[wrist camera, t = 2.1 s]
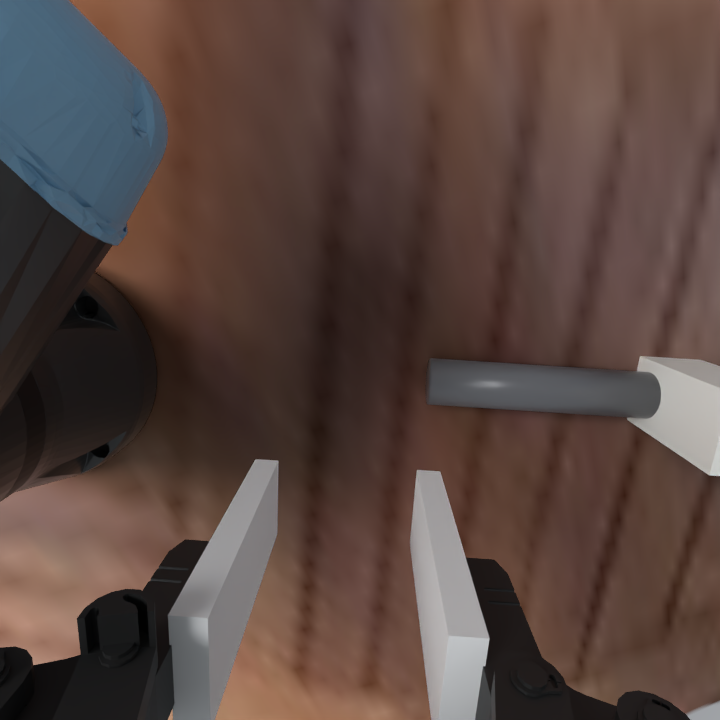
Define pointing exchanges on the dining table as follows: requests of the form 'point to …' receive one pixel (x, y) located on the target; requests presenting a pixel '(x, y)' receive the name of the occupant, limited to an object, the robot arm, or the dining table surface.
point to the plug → (598, 396)
